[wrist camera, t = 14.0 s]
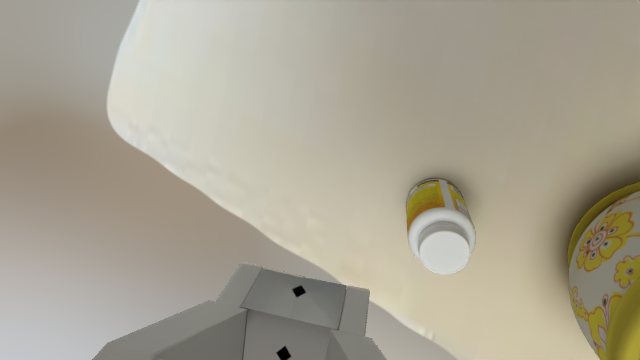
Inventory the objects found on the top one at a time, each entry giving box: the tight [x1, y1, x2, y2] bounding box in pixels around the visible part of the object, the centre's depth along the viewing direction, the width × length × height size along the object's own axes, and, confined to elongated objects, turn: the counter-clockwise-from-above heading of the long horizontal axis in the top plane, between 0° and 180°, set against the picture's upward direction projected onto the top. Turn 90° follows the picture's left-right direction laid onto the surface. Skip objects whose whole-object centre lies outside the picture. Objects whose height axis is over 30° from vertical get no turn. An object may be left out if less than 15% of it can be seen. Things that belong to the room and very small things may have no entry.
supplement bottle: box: [406, 179, 476, 275], centre depth 39 cm, size 6×6×10 cm
